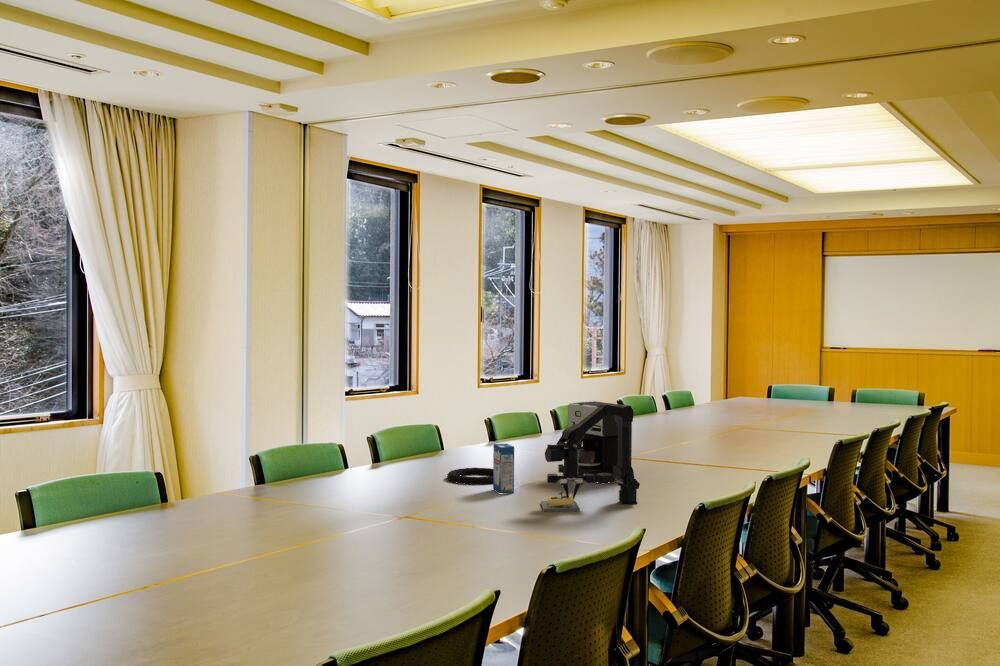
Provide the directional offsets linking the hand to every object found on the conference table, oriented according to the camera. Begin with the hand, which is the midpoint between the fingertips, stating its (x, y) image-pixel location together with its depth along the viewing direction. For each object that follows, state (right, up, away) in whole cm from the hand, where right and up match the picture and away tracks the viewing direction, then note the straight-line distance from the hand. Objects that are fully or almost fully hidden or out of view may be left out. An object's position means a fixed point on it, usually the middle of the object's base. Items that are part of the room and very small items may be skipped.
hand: (570, 499), depth 341 cm
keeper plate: (-4, -3, 0) cm, 5 cm away
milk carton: (-27, -2, +30) cm, 40 cm away
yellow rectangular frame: (-4, -1, 0) cm, 4 cm away
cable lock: (-38, -2, +58) cm, 69 cm away
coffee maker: (+17, -2, +65) cm, 67 cm away
